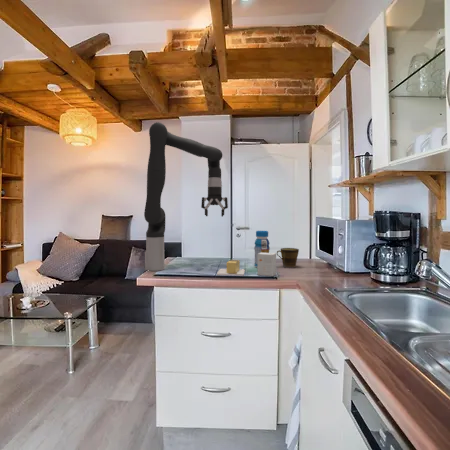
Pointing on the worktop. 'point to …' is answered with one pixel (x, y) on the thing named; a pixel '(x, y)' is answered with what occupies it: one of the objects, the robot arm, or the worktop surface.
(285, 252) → the ceramic cup
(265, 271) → the small box
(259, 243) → the teal labeled canister
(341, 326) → the worktop surface
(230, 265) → the block
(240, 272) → the floor panel
